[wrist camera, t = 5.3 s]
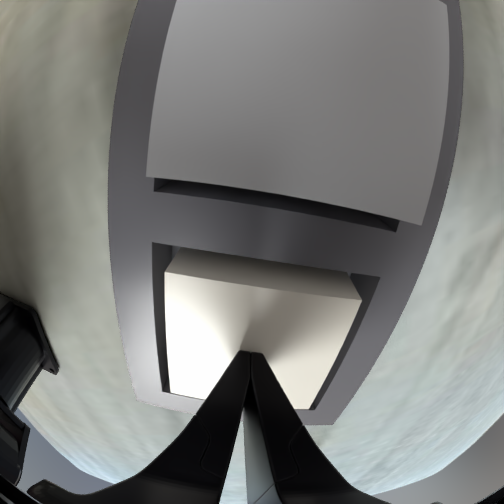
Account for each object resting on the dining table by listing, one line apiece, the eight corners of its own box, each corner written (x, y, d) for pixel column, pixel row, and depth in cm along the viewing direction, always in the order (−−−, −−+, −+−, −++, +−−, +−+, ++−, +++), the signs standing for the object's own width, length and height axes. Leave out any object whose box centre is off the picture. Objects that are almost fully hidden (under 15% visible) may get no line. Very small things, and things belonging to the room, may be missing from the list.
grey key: (381, 199, 7) (421, 225, 5) (179, 163, 7) (145, 176, 5) (406, 27, 5) (447, 4, 3) (213, -16, 5) (198, -58, 3)
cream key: (303, 371, 12) (308, 409, 10) (182, 355, 12) (170, 392, 10) (342, 265, 10) (362, 300, 8) (184, 241, 10) (164, 271, 8)
